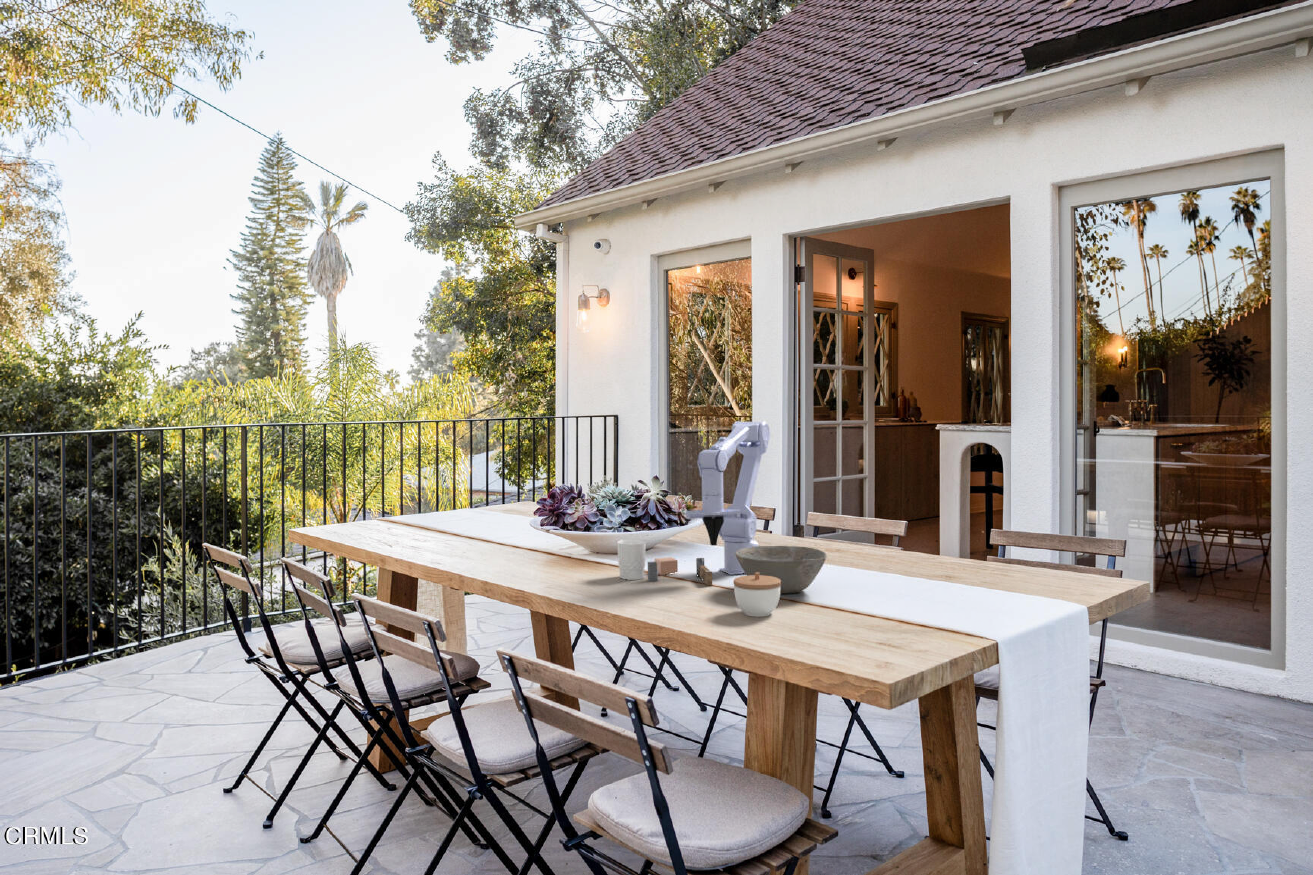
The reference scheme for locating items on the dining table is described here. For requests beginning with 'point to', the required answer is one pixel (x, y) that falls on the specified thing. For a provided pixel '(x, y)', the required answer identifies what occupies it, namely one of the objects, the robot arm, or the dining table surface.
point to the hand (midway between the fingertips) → (713, 544)
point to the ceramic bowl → (783, 564)
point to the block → (666, 565)
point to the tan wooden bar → (706, 575)
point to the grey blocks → (654, 572)
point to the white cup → (631, 559)
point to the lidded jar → (757, 594)
